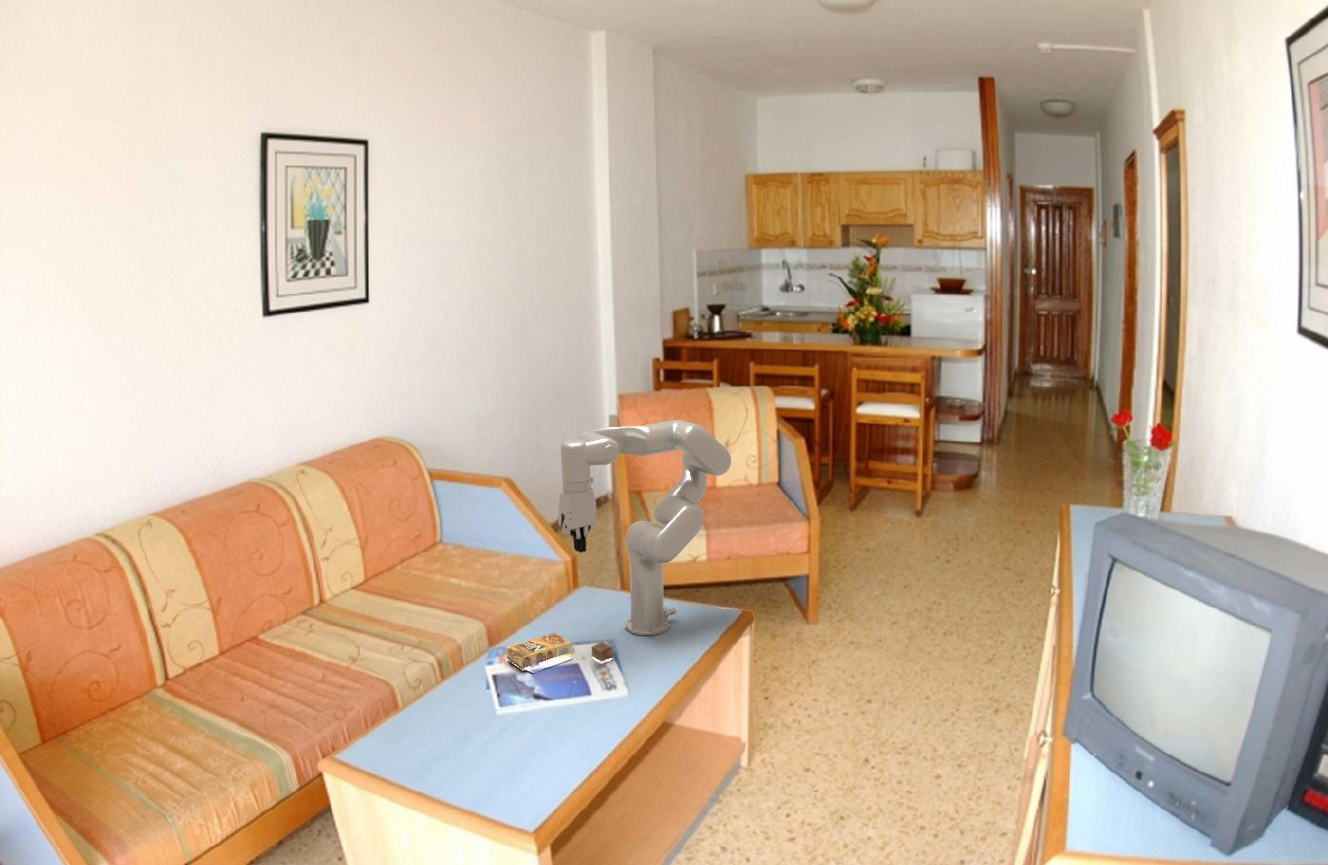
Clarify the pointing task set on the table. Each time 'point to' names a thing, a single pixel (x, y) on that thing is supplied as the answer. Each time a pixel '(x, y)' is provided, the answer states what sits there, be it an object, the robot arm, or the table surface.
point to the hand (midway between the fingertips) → (580, 550)
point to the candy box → (538, 650)
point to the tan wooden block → (602, 651)
